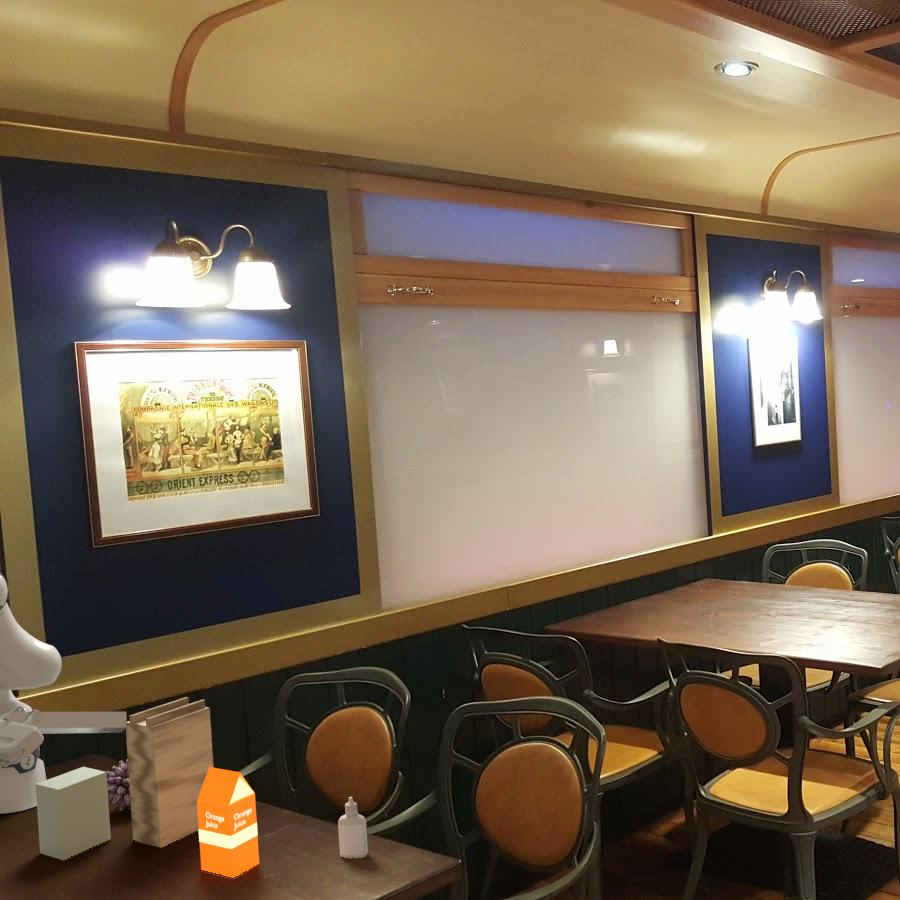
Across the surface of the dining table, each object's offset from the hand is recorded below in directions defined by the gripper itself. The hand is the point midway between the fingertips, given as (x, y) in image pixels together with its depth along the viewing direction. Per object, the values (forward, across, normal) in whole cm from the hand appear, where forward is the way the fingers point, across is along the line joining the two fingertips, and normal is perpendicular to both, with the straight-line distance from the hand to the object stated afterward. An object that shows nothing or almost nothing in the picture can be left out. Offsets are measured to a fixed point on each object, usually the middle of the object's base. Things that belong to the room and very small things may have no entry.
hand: (30, 710), depth 218 cm
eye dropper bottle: (+12, -58, +44) cm, 74 cm away
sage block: (-8, 0, +32) cm, 33 cm away
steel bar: (+2, -4, +7) cm, 9 cm away
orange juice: (-2, -39, +36) cm, 53 cm away
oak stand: (+5, -14, +40) cm, 43 cm away
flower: (+9, +7, +42) cm, 44 cm away
